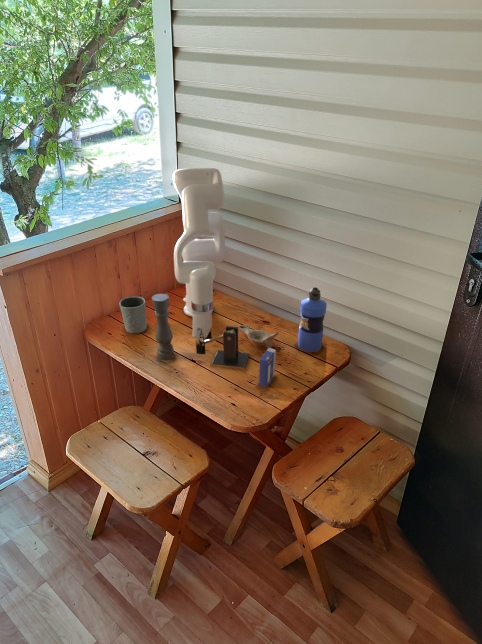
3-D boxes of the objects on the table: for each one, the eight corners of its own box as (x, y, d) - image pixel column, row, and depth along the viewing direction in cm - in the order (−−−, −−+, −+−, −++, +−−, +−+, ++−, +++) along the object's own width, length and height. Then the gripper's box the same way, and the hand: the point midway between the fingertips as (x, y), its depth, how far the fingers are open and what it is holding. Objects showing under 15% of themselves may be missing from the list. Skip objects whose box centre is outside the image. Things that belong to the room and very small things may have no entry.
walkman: (266, 389, 161) (267, 360, 154) (258, 387, 162) (259, 358, 155) (274, 377, 167) (276, 348, 160) (267, 375, 168) (268, 346, 161)
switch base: (212, 366, 172) (211, 334, 165) (218, 352, 180) (217, 321, 172) (244, 369, 170) (245, 338, 163) (249, 356, 178) (249, 325, 170)
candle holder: (155, 355, 177) (149, 295, 164) (172, 351, 180) (166, 292, 166) (160, 364, 173) (153, 302, 159) (176, 360, 175) (171, 299, 161)
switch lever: (202, 349, 171) (199, 343, 170) (205, 341, 175) (202, 336, 174) (234, 339, 167) (231, 334, 166) (237, 332, 171) (234, 326, 170)
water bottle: (304, 356, 178) (310, 296, 164) (292, 343, 185) (297, 285, 171) (326, 351, 181) (333, 291, 167) (313, 339, 188) (319, 281, 174)
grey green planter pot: (140, 336, 189) (137, 309, 182) (118, 331, 191) (114, 305, 185) (152, 324, 197) (149, 298, 190) (131, 320, 199) (127, 294, 193)
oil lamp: (268, 358, 176) (269, 335, 171) (231, 335, 190) (231, 313, 184) (284, 350, 181) (286, 327, 176) (248, 328, 195) (248, 306, 189)
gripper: (198, 292, 172) (200, 333, 181) (184, 315, 158) (187, 359, 167) (218, 294, 171) (219, 335, 180) (206, 317, 156) (208, 361, 166)
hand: (204, 346), depth 174 cm, fingers open, 8 cm apart
